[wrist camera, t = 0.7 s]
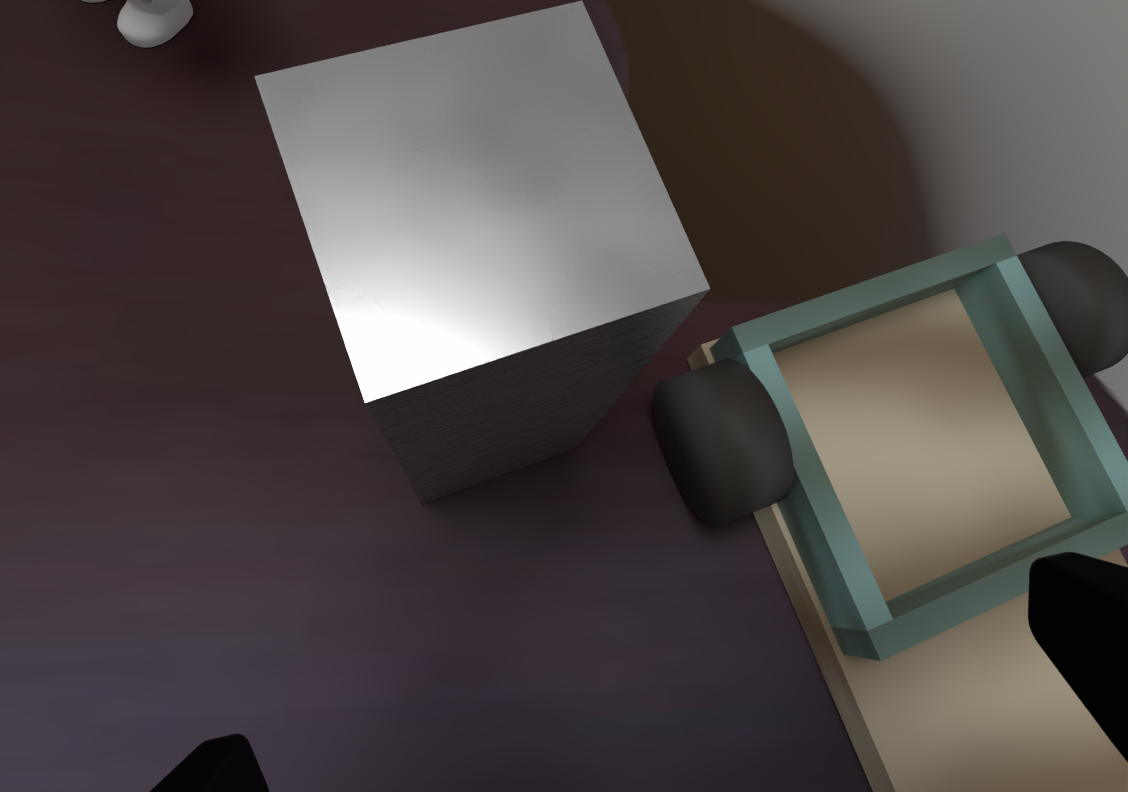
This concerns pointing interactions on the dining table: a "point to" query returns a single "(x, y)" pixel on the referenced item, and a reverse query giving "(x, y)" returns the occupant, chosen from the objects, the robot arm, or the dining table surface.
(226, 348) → the dining table surface
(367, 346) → the tall gray rectangular block
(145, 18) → the flower shoulder figurine
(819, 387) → the toy car chassis
